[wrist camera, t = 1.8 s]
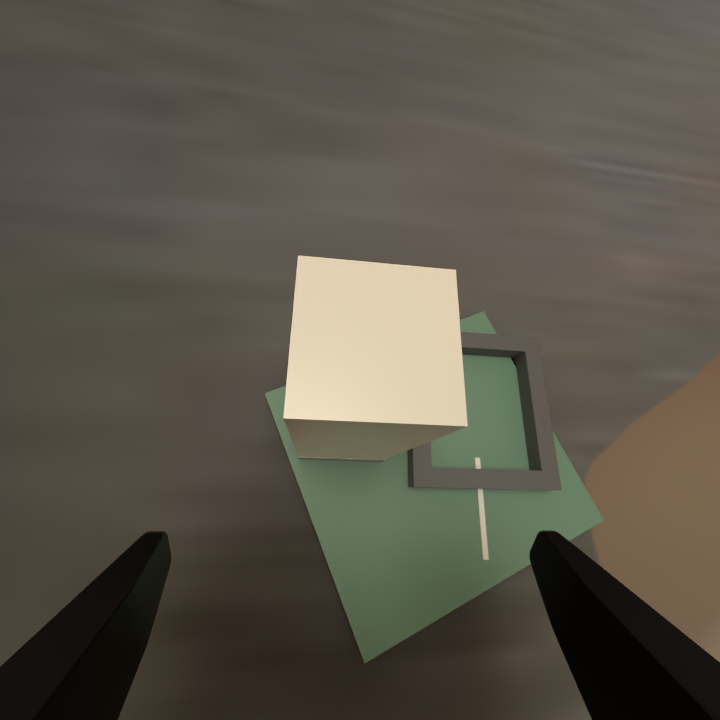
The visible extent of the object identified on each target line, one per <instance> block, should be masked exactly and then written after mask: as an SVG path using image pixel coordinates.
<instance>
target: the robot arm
mask: <svg viewBox="0 0 720 720" xmlns="http://www.w3.org/2000/svg"><path fill="white" fill-rule="evenodd" d="M529 558H530V563H531V566H532V569H533V572H534V575H535V578H536V581H537V584H538V587H539V590H540V593H541V596H542V599H543V602H544V605H545V608H546V611H547V614H548V617H549V620H550V622H551V625H552V628H553V630H554V633H555V635H556V637H557V640H558V642H559V645H560V647H561V649H562V651H563V654H564V656H565V658H566V661H567V663H568V665H569V668H570V670H571V672H572V675H573V677H574V679H575V681H576V684H577V686H578V688H579V691H580V693H581V695H582V698H583V700H584V702H585V705H586V707H587V709H588V711H589V714H590V716H591V718H592V720H720V662H719V661H717V660H716V659H715V658H714V657H712V656H711V655H710V654H709V653H707V652H706V651H705V650H704V649H702V648H701V647H700V646H699V645H697V644H696V643H695V642H694V641H692V640H691V639H690V638H689V637H688V636H686V635H685V634H684V633H682V632H681V631H680V630H679V629H678V628H676V627H675V626H674V625H673V624H671V623H670V622H669V621H668V620H666V619H665V618H664V617H663V616H661V615H660V614H659V613H658V612H656V611H655V610H654V609H653V608H652V607H650V606H649V605H648V604H647V603H645V602H644V601H643V600H642V599H640V598H639V597H638V596H637V595H635V594H634V593H633V592H632V591H630V590H629V589H628V588H627V587H625V586H624V585H623V584H622V583H620V582H619V581H618V580H617V579H616V578H614V577H613V576H612V575H610V574H609V573H608V572H607V571H606V570H604V569H603V568H602V567H601V566H599V565H598V564H597V563H596V562H595V561H593V560H592V559H591V558H590V557H588V556H587V555H586V554H585V553H583V552H582V551H581V550H580V549H578V548H577V547H576V546H575V545H573V544H572V543H571V542H570V541H568V540H567V539H566V538H565V537H563V536H562V535H561V534H560V533H558V532H556V531H552V530H543V531H540V532H538V534H537V536H536V538H535V540H534V543H533V545H532V547H531V549H530V553H529ZM170 563H171V552H170V546H169V541H168V536H167V534H166V532H163V531H150V532H146V533H145V534H143V535H142V536H141V537H140V538H139V539H138V540H137V541H136V542H135V543H133V544H132V545H131V546H130V547H129V548H128V549H127V550H126V551H125V552H124V553H123V554H122V555H120V556H119V557H118V558H117V559H116V560H115V561H114V562H113V563H112V564H111V565H110V566H109V567H108V568H106V569H105V570H104V571H103V572H102V573H101V574H100V575H99V576H98V577H97V578H96V579H95V580H94V581H92V582H91V583H90V584H89V585H88V586H87V587H86V588H85V589H84V590H83V591H82V592H81V593H80V594H78V595H77V596H76V597H75V598H74V599H73V600H72V601H71V602H70V603H69V604H68V605H67V606H65V607H64V608H63V609H62V610H61V611H60V612H59V613H58V614H57V615H56V616H55V617H54V618H53V619H51V620H50V621H49V622H48V623H47V624H46V625H45V626H44V627H43V628H42V629H41V630H40V631H39V632H37V633H36V634H35V635H34V636H33V637H32V638H31V639H30V640H29V641H28V642H27V643H26V644H24V645H23V646H22V647H21V648H20V649H19V650H18V651H17V652H16V653H15V654H14V655H13V656H12V657H10V658H9V659H8V660H7V661H6V662H5V663H4V664H3V665H2V666H1V667H0V720H118V717H119V715H120V712H121V710H122V707H123V705H124V702H125V700H126V697H127V695H128V692H129V689H130V687H131V684H132V682H133V679H134V677H135V674H136V672H137V669H138V667H139V664H140V662H141V659H142V657H143V654H144V651H145V648H146V646H147V643H148V640H149V637H150V633H151V630H152V627H153V623H154V620H155V616H156V613H157V609H158V606H159V603H160V599H161V596H162V592H163V589H164V585H165V582H166V578H167V575H168V571H169V568H170Z"/></svg>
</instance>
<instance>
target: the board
mask: <svg viewBox="0 0 720 720" xmlns="http://www.w3.org/2000/svg"><path fill="white" fill-rule="evenodd" d="M460 333H461V346H462V358H463V371H464V384H465V397H466V410H467V423H468V426H467V427H465V428H462V429H460V430H457V431H455V432H452V433H450V434H447V435H445V436H442V437H440V438H437V439H435V440H432V441H430V442H427V443H425V444H422V445H420V446H417V447H415V448H412V449H410V450H407V451H405V452H402V453H400V454H397V455H395V456H392V457H390V458H387V459H385V461H383V462H371V461H339V460H307V459H298V454H297V452H296V449H295V447H294V444H293V442H292V439H291V437H290V434H289V432H288V429H287V427H286V424H285V422H284V419H283V416H284V405H285V394H286V386H283V387H281V388H278V389H275V390H273V391H270V392H267V393H265V395H266V398H267V401H268V403H269V406H270V409H271V411H272V414H273V417H274V420H275V422H276V425H277V428H278V430H279V433H280V436H281V439H282V441H283V444H284V447H285V449H286V452H287V455H288V458H289V460H290V463H291V466H292V468H293V471H294V474H295V477H296V479H297V482H298V485H299V487H300V490H301V493H302V495H303V498H304V501H305V504H306V506H307V509H308V512H309V514H310V517H311V520H312V523H313V525H314V528H315V531H316V533H317V536H318V539H319V542H320V544H321V547H322V550H323V552H324V555H325V558H326V560H327V563H328V566H329V569H330V571H331V574H332V577H333V579H334V582H335V585H336V588H337V590H338V593H339V596H340V598H341V601H342V604H343V607H344V609H345V612H346V615H347V617H348V620H349V623H350V626H351V628H352V631H353V634H354V636H355V639H356V642H357V644H358V647H359V650H360V653H361V655H362V658H363V661H364V663H366V662H368V661H370V660H371V659H373V658H375V657H376V656H378V655H380V654H381V653H383V652H385V651H386V650H388V649H390V648H391V647H393V646H395V645H396V644H398V643H400V642H401V641H403V640H405V639H406V638H408V637H410V636H411V635H413V634H415V633H416V632H418V631H420V630H421V629H423V628H425V627H426V626H428V625H430V624H431V623H433V622H435V621H436V620H438V619H440V618H441V617H443V616H445V615H446V614H448V613H450V612H451V611H453V610H455V609H456V608H458V607H460V606H461V605H463V604H465V603H466V602H468V601H470V600H471V599H473V598H475V597H476V596H478V595H480V594H481V593H483V592H485V591H486V590H488V589H490V588H491V587H493V586H495V585H496V584H498V583H500V582H501V581H503V580H505V579H506V578H508V577H510V576H511V575H513V574H515V573H516V572H518V571H520V570H521V569H523V568H525V567H526V566H528V565H530V564H531V563H530V558H529V553H530V549H531V547H532V545H533V543H534V540H535V538H536V536H537V534H538V532H540V531H543V530H552V531H556V532H558V533H560V534H561V535H562V536H563V537H565V538H566V539H567V540H568V541H570V540H571V539H573V538H575V537H576V536H578V535H580V534H581V533H583V532H585V531H586V530H588V529H590V528H591V527H593V526H595V525H596V524H598V523H600V522H601V521H603V520H604V519H603V518H602V516H601V514H600V513H599V511H598V509H597V507H596V506H595V504H594V502H593V500H592V499H591V497H590V495H589V493H588V492H587V490H586V488H585V486H584V485H583V483H582V481H581V479H580V478H579V476H578V474H577V472H576V471H575V469H574V467H573V465H572V464H571V462H570V460H569V459H568V457H567V455H566V453H565V452H564V450H563V448H562V446H561V445H560V443H559V441H558V439H557V438H556V436H555V434H554V432H553V430H552V423H551V417H550V410H549V404H548V397H547V391H546V384H545V378H544V371H543V365H542V358H541V351H540V345H539V338H538V337H527V336H513V335H499V334H497V333H496V332H495V330H494V328H493V327H492V325H491V323H490V321H489V320H488V318H487V316H486V314H485V313H484V311H483V312H480V313H478V314H475V315H472V316H470V317H467V318H464V319H462V320H460ZM511 358H515V362H516V366H515V365H514V363H513V361H512V360H511Z"/></svg>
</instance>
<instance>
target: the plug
mask: <svg viewBox="0 0 720 720" xmlns="http://www.w3.org/2000/svg"><path fill="white" fill-rule="evenodd" d="M283 419H284V422H285V424H286V427H287V429H288V432H289V434H290V437H291V439H292V442H293V444H294V447H295V449H296V452H297V454H298V459H307V460H339V461H371V462H383V461H385V459H387V458H390V457H392V456H395V455H397V454H400V453H402V452H405V451H407V450H410V449H412V448H415V447H417V446H420V445H422V444H425V443H427V442H430V441H432V440H435V439H437V438H440V437H442V436H445V435H447V434H450V433H452V432H455V431H457V430H460V429H462V428H465V427H467V426H468V423H467V410H466V397H465V384H464V371H463V358H462V346H461V333H460V320H459V307H458V294H457V281H456V270H450V269H439V268H428V267H417V266H406V265H395V264H384V263H374V262H363V261H352V260H341V259H330V258H319V257H308V256H298V263H297V274H296V285H295V296H294V306H293V317H292V328H291V339H290V350H289V361H288V372H287V383H286V394H285V405H284V416H283Z"/></svg>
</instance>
